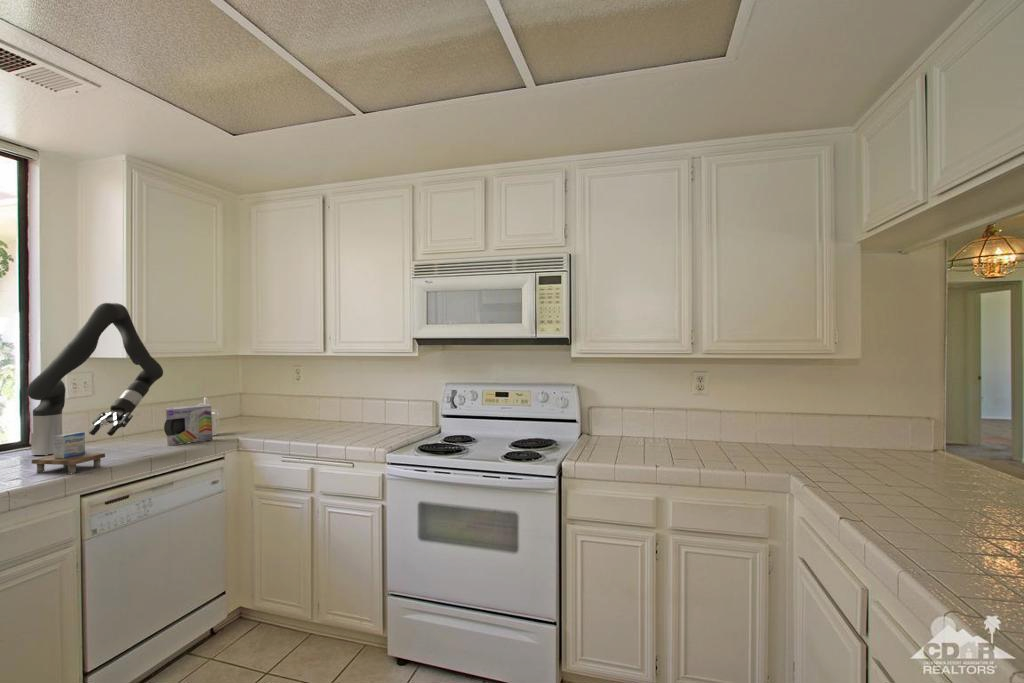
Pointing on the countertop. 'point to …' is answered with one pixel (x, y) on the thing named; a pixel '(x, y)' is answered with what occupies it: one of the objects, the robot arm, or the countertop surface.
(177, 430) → the cake pan box
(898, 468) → the countertop surface
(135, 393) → the robot arm
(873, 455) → the countertop surface
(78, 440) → the medicine box
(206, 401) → the white french press
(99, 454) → the walnut shelf
